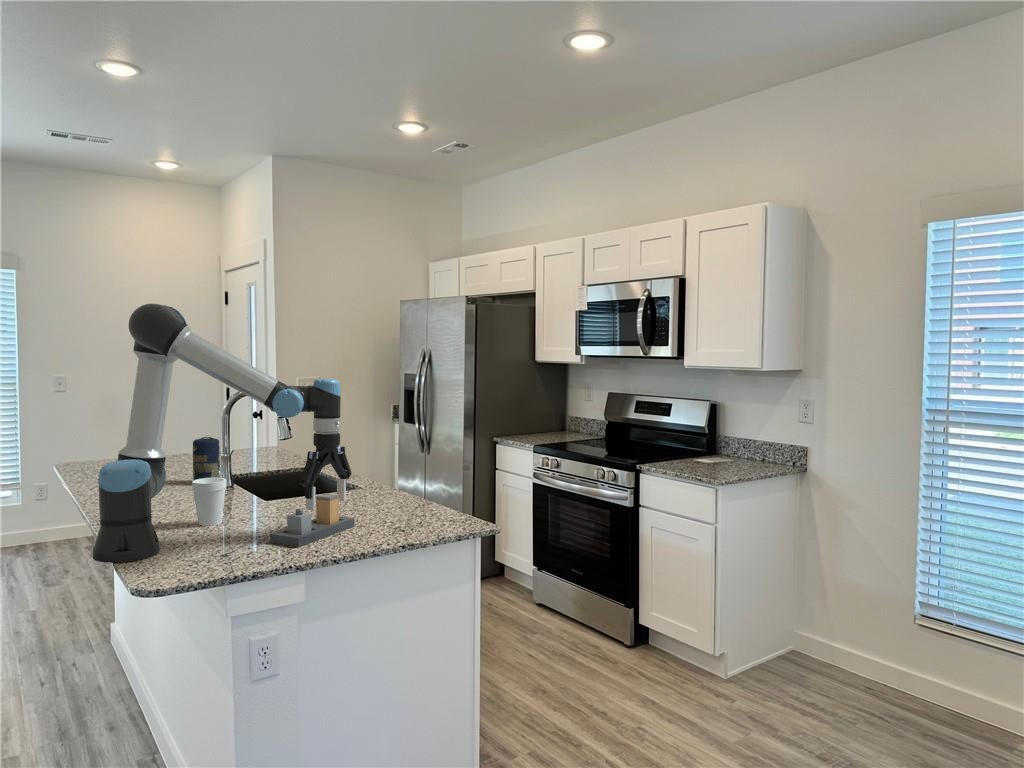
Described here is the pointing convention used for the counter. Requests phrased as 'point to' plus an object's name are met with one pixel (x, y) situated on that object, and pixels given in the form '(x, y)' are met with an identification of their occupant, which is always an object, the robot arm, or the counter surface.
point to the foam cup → (209, 500)
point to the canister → (206, 458)
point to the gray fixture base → (307, 529)
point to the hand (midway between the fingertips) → (326, 505)
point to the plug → (327, 509)
